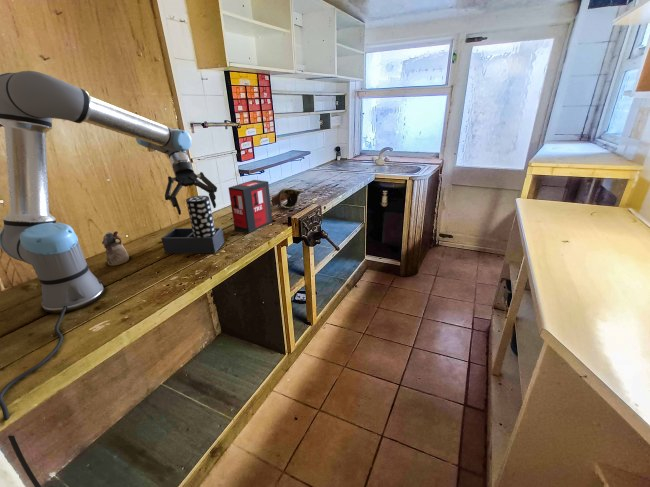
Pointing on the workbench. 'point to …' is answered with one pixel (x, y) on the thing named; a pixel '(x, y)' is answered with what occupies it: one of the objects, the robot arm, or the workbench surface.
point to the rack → (191, 241)
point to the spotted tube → (201, 216)
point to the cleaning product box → (250, 205)
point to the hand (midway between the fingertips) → (197, 209)
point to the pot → (286, 197)
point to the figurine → (114, 249)
